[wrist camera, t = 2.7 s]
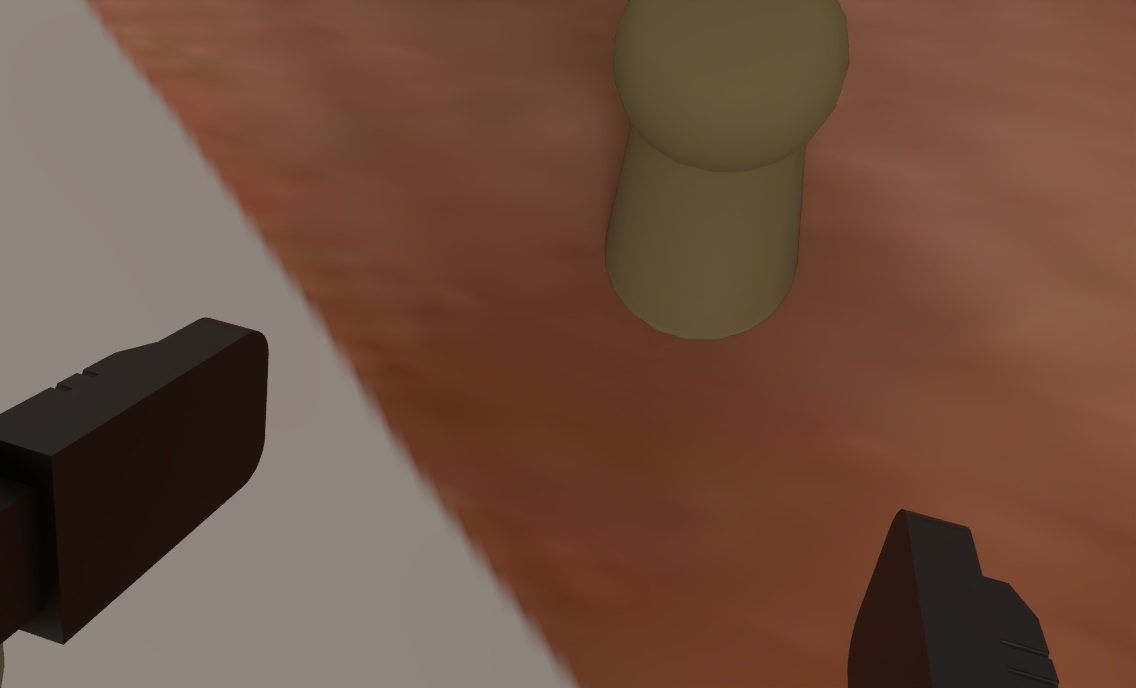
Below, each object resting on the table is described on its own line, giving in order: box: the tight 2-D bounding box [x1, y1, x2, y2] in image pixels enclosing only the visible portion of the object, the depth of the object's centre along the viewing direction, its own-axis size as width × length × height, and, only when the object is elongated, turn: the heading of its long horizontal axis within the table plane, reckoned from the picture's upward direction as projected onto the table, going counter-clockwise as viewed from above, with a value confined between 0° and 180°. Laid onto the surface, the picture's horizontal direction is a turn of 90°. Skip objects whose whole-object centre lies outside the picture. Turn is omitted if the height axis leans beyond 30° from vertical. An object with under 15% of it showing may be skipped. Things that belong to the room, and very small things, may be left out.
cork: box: [605, 0, 849, 339], centre depth 25 cm, size 6×6×11 cm
